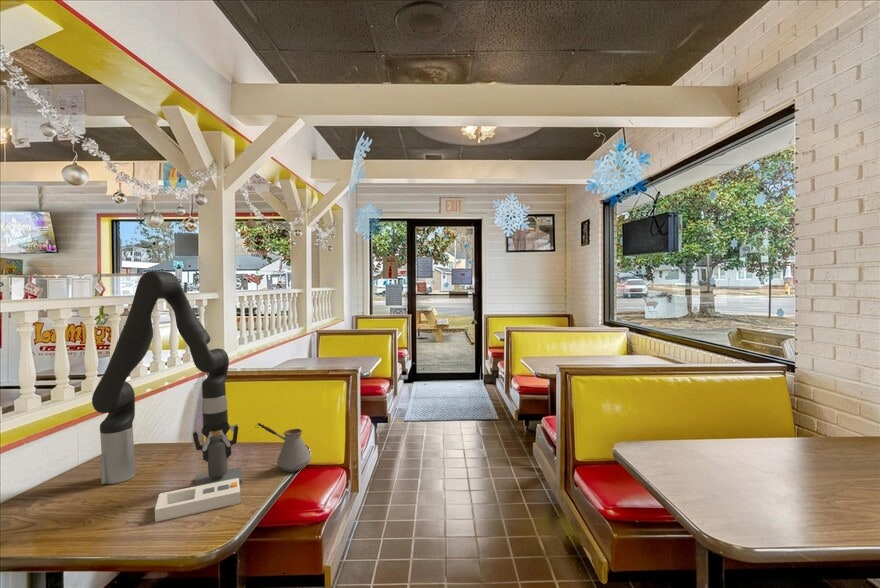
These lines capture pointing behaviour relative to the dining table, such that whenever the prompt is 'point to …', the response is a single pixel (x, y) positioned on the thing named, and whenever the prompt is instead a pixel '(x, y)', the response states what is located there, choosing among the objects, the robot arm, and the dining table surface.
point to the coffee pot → (291, 450)
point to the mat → (229, 475)
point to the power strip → (197, 499)
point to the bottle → (217, 455)
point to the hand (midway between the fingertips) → (217, 458)
